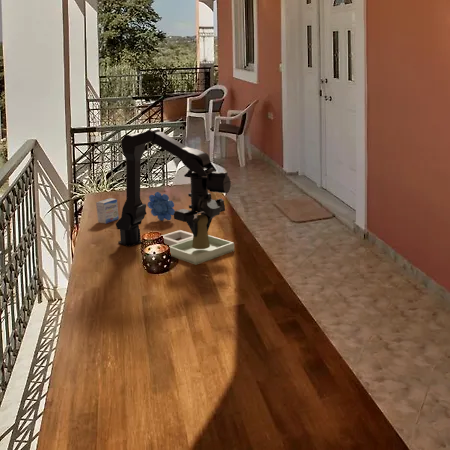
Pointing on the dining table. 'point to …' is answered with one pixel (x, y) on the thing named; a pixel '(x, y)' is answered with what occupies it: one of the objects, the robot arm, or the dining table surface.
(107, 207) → the medicine box
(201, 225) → the cork
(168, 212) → the blue bumpy cluster
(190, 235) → the socket block
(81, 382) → the dining table surface
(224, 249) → the parts tray
